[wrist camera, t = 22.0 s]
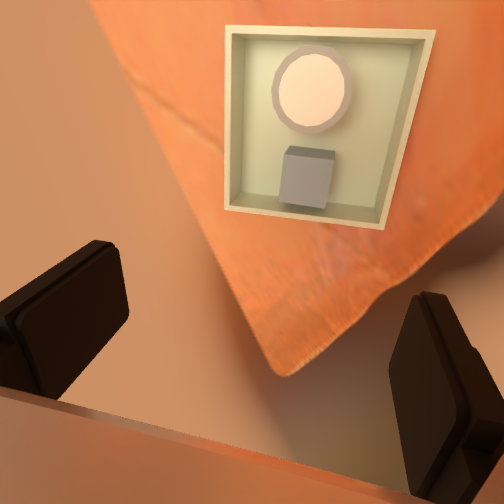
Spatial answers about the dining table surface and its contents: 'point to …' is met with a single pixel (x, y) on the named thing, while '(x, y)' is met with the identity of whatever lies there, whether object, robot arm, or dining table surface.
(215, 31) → the dining table surface
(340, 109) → the shot glass
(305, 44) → the tote
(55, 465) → the robot arm
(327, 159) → the cube
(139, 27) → the dining table surface
